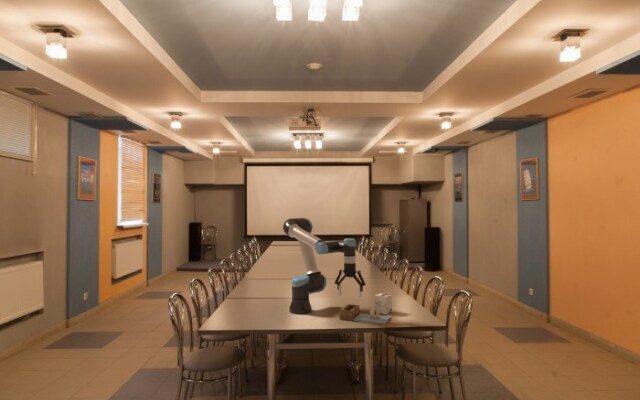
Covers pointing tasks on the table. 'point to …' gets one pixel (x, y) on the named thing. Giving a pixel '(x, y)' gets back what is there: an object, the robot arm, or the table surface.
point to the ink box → (383, 303)
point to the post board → (370, 320)
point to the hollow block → (349, 312)
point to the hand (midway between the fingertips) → (350, 295)
